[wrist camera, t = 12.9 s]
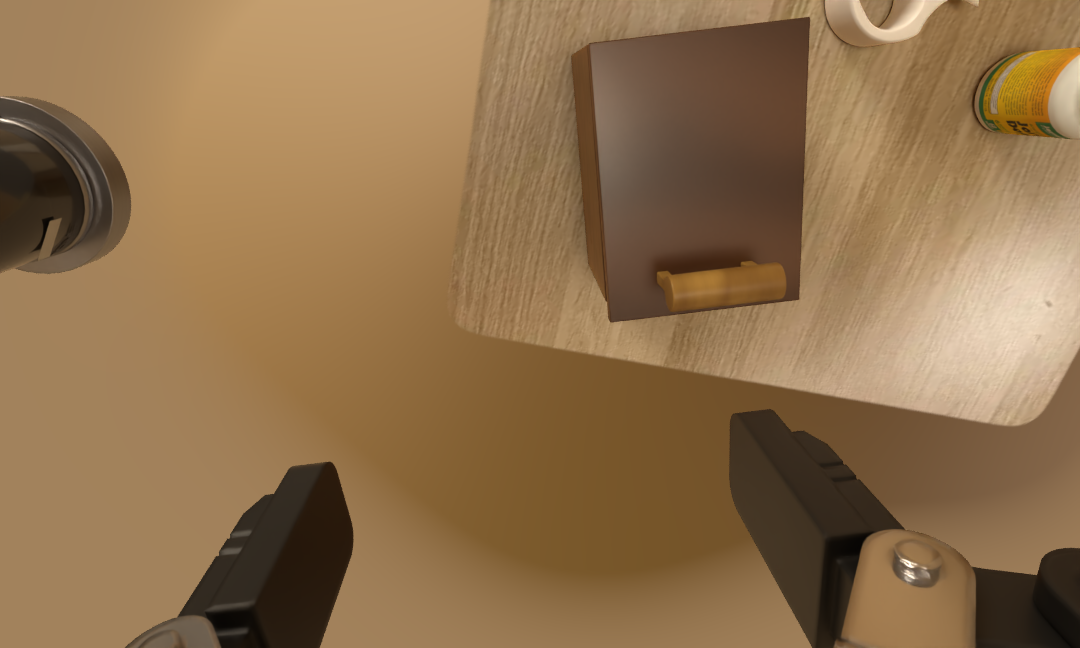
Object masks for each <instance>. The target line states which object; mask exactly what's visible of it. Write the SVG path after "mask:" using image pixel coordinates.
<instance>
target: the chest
mask: <svg viewBox="0 0 1080 648" xmlns="http://www.w3.org/2000/svg"><path fill="white" fill-rule="evenodd" d="M587 46H588V45H587ZM587 46H585V47H584V48H582V49H581V50H579V51H577V52H576V53H574V54H573V55H572V56H571V61H572V73H573V85H574V97H575V109H576V121H577V133H578V145H579V157H580V169H581V182H582V194H583V206H584V218H585V230H586V242H587V254H588V264H589V266H590V268H591V271H592V273H593V275H594V277H595V279H596V281H597V283H598V286H599V288H600V290H601V292H602V294H603V296H604V298H605V301H607V294H606V281H605V268H604V255H603V242H602V229H601V216H600V203H599V191H598V178H597V165H596V152H595V139H594V126H593V113H592V100H591V87H590V74H589V61H588V48H587Z"/></svg>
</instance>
